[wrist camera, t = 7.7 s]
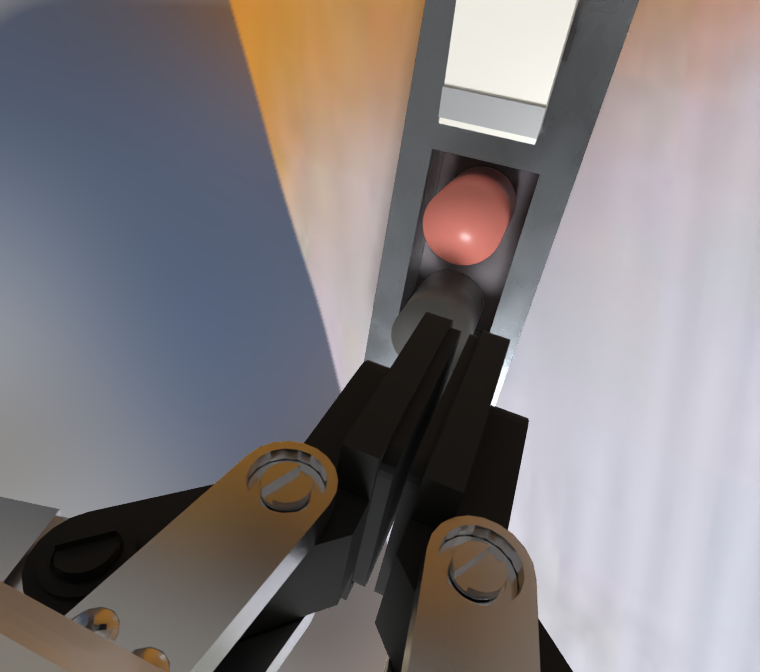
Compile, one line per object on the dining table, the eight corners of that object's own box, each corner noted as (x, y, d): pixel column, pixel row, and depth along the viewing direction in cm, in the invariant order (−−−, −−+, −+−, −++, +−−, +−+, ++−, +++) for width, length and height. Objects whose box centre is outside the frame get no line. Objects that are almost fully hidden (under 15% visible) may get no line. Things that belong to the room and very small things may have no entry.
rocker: (480, -102, 17) (468, -96, 16) (604, -86, 16) (599, -79, 15) (448, 109, 22) (437, 124, 21) (541, 129, 21) (534, 146, 20)
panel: (460, -89, 22) (437, -114, 19) (657, -63, 20) (670, -85, 17) (380, 342, 33) (357, 374, 30) (501, 382, 32) (490, 420, 28)
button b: (424, 261, 27) (398, 295, 23) (491, 281, 26) (475, 318, 23) (411, 320, 29) (385, 359, 25) (474, 340, 28) (456, 383, 24)
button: (454, 158, 26) (431, 176, 22) (525, 175, 25) (513, 197, 21) (439, 226, 28) (416, 253, 24) (504, 244, 27) (490, 274, 23)
